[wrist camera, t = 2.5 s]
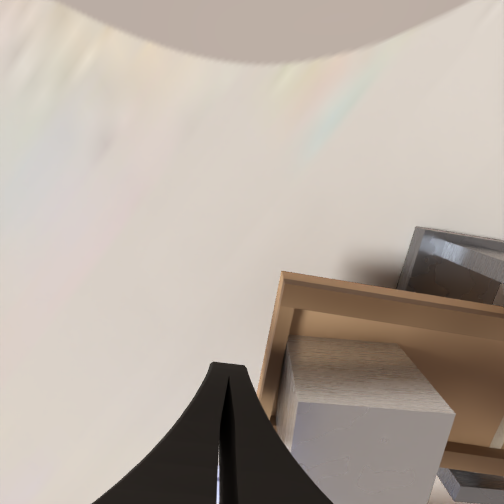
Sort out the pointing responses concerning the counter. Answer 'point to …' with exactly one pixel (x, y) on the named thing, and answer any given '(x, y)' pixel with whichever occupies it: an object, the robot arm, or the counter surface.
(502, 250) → the stand
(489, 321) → the wooden tray
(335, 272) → the counter surface
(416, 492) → the block
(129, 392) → the counter surface
